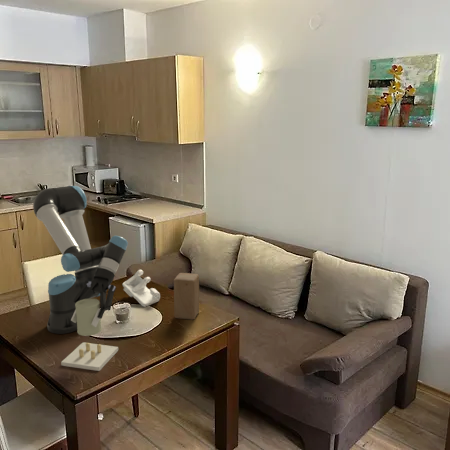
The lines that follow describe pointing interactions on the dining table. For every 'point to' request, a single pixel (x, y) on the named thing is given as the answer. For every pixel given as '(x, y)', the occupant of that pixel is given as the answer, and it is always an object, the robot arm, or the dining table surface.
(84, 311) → the can
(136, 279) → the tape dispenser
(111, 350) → the standoff plate
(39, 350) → the dining table surface
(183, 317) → the wooden block
